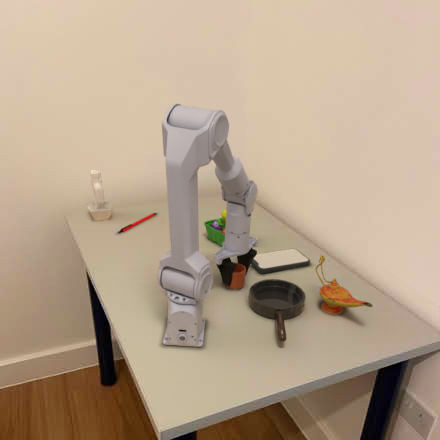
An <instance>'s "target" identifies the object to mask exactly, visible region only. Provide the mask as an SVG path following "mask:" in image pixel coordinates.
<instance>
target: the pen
mask: <svg viewBox="0 0 440 440" xmlns="http://www.w3.org/2000/svg"><path fill="white" fill-rule="evenodd" d="M156 215H157V212H154V213H150V214H149V215H147V216H145V217H143V218H141V219H140V220H137V221H135V222H133V223H130V224H128V225H126V226H124V227H122V228H121V229H120V231H118V232H117V233H118V234H120V233H124V232H126V231H128V230H130V229H132V228H133V227H135V226H138V225H140V224H141V223H144V222H145V221H147V220H149V219H151V218H152V217H153V218H154V217H155V216H156Z"/></svg>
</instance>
